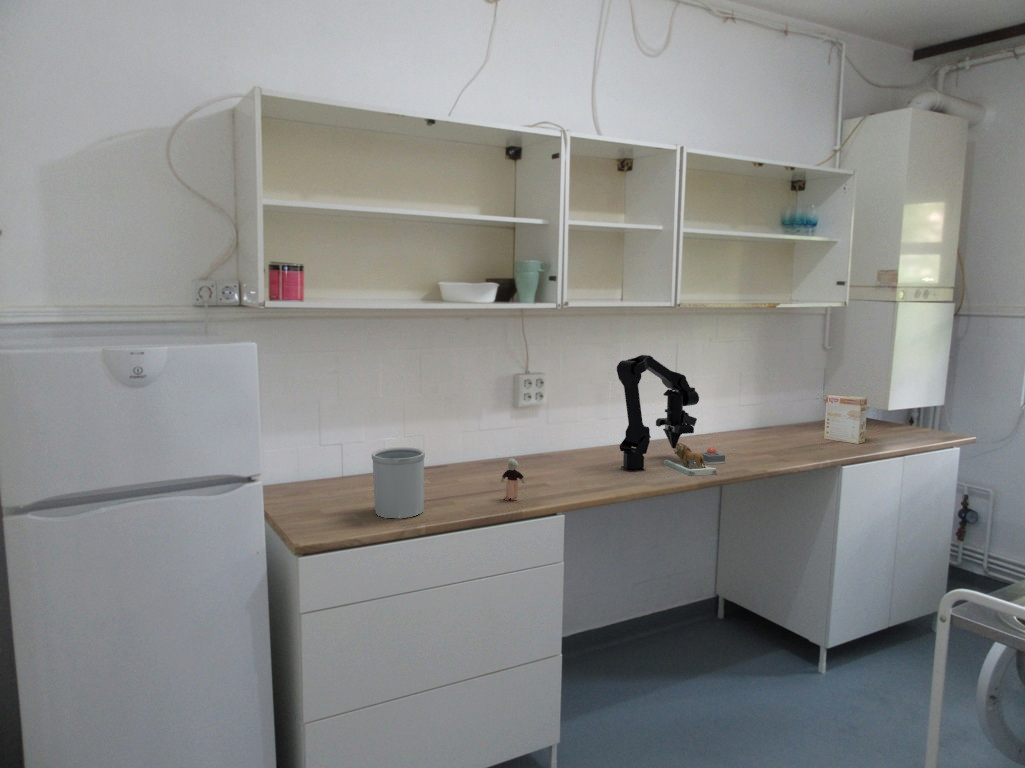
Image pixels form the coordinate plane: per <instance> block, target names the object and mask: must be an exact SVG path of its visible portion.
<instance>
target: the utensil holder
mask: <svg viewBox="0 0 1025 768" xmlns="http://www.w3.org/2000/svg"><path fill="white" fill-rule="evenodd" d="M425 452H426V451H425V450H424V449H421V448H417V447H407V446H403V447H402V446H401V447H387V448H381V449H377V450H375V451H373V452H372V453H371V459H372V473H373V474H372V476H373V495H374V496H373V497H374V498H373V499H374V509H375V510H374V511H375V515H376V514H377V515H378V517H379V516H381V517H386V518H406V517H412V516H416V515H418V514H420V515H422V514H423V513H424V508H425V506H424V505H425V468H424V467H425V457H426V453H425ZM422 512H423V513H422ZM421 513H422V514H421ZM377 515H376V516H377ZM418 516H419V515H418ZM381 517H380V518H381ZM416 517H417V516H416ZM386 518H385V519H386Z"/></svg>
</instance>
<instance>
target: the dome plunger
mask: <svg viewBox="0 0 1025 768" xmlns="http://www.w3.org/2000/svg"><path fill="white" fill-rule="evenodd" d="M706 452H707V455H716V452H717V449H716V448H715V447H709V448H707V451H706Z"/></svg>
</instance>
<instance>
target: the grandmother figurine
mask: <svg viewBox="0 0 1025 768" xmlns="http://www.w3.org/2000/svg"><path fill="white" fill-rule="evenodd" d="M507 465H508V466H507V467H508V469H507V470H506V471H505V472H504V473H503V474H502V476H501V479H500V482H501V483H504V482H505V479H506V484H505V496H504V497H503V499H505V500H504V501H509V499H510V498H511V499H510V500H511V501H512V500H517V501H519V499H518V495H519V481H518V479H519V480H520V481H521V484H525V483H526V481H525V478H524V475H523V474H522V473H521V472H520V471H518V470H516V469H517V468H518V467H519V462H518V461H517V460H516V459H515V458H509V459H508V460H507Z"/></svg>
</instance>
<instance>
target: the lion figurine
mask: <svg viewBox="0 0 1025 768" xmlns="http://www.w3.org/2000/svg"><path fill="white" fill-rule="evenodd" d="M673 453H674V454H675V455H676V456H677V457H679V460H682V466H683V467H686V468H688V469H690V468H689V467H690V465H689V463H690V462H696V464H697V466H698V467H699V468H700V469H702V468H703V466H704V468H706V467H705V466H706V465H705V464H706V463H704V459H703V455H702V454H701V453H702V452H694V451H692V450H691V448H690V447H689V446H687V445H686V444H684V443H682V442H678V443H677V444H676V448H674V449H673ZM686 462H687V464H686ZM702 464H703V465H702Z"/></svg>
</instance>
